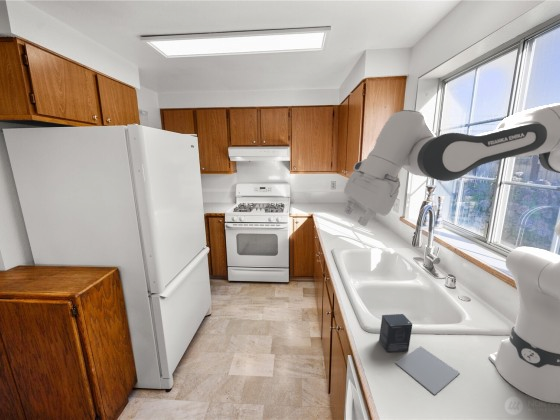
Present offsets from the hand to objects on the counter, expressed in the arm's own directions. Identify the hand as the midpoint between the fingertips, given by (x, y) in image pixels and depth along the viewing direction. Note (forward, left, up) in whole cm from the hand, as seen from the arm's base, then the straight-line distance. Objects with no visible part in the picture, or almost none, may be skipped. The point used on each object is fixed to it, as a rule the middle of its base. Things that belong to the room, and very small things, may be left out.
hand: (353, 218), depth 66 cm
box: (-21, +4, -47) cm, 52 cm away
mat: (-22, +15, -47) cm, 54 cm away
